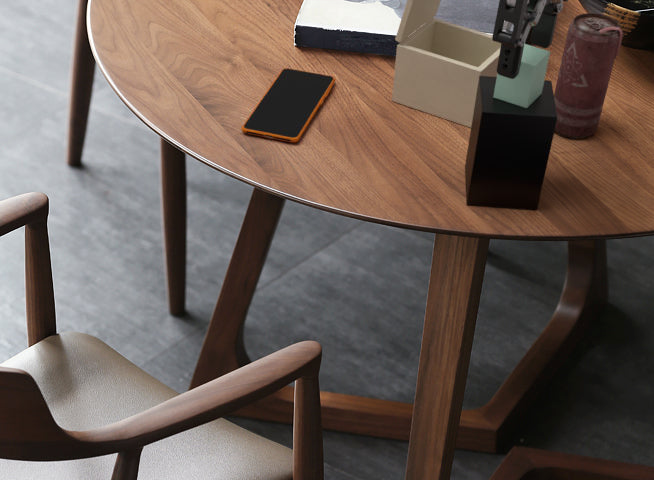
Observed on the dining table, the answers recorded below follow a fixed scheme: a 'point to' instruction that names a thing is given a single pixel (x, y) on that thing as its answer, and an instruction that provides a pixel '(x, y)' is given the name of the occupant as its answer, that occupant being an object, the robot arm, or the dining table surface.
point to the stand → (508, 149)
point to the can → (585, 73)
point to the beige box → (443, 69)
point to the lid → (416, 16)
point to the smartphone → (289, 105)
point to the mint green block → (524, 78)
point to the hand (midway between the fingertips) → (524, 60)
